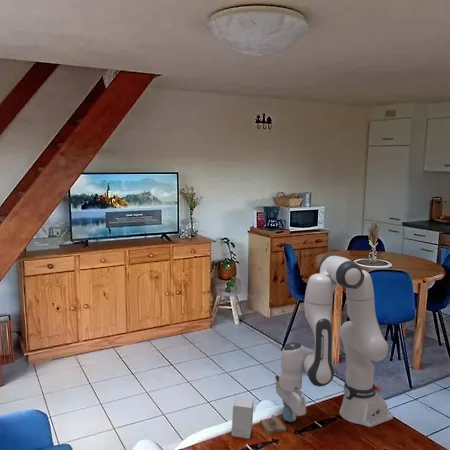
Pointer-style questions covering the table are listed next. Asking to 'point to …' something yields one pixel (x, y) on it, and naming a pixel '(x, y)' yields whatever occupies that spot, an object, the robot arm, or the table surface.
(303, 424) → the table surface
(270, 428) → the post base
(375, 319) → the robot arm
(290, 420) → the teal cap
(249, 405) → the supplement box
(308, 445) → the table surface
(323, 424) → the table surface
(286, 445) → the table surface
